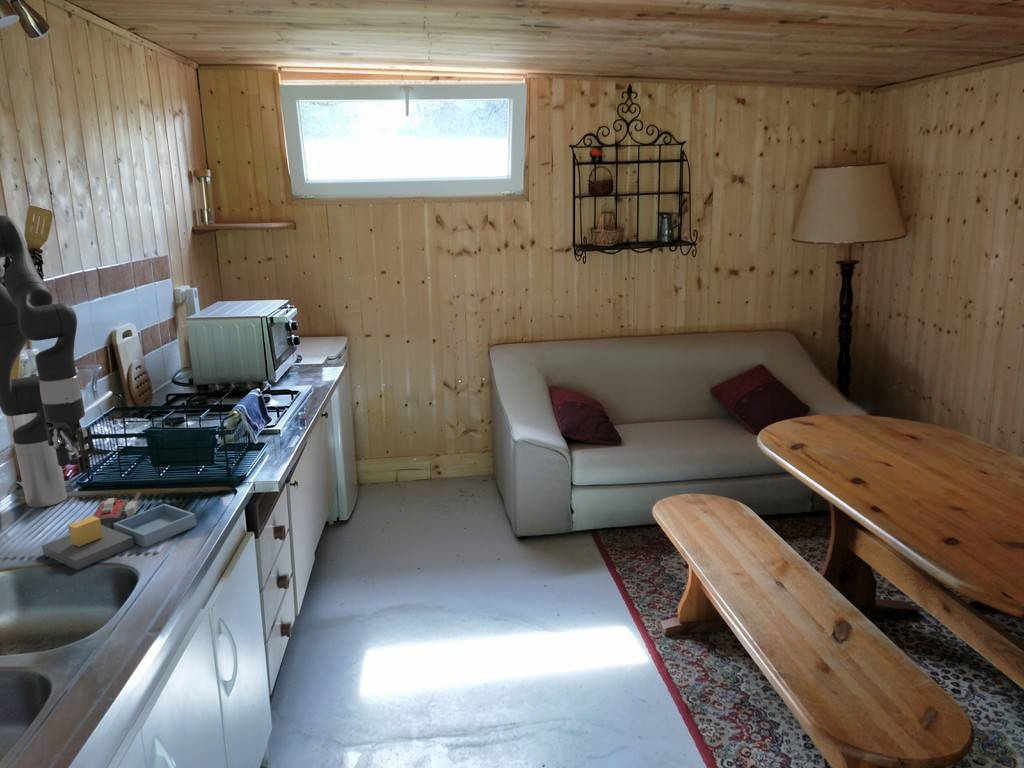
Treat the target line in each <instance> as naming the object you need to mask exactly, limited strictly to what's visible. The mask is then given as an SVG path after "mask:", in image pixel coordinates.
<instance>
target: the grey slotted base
mask: <svg viewBox="0 0 1024 768" xmlns="http://www.w3.org/2000/svg"><path fill="white" fill-rule="evenodd" d="M101 527H102V533H103V537H102V538H99V539H97V540H94V541H92V542H89V543H87V544H84V545H82V546H79V547H77V546H76V545H73V544H71V539H70V534H68V535H66V536H63V537H61V538H58V539H55V540H53V541H51V542H48V543H46V544H43V545H41V549H42V553H43V555H44V554H46V555H48V556H50V557H52V558H55V559H57V560H59V561H62V562H64V563H65V564H66V565H65V564H64V565H65V566H67V567H69V568H72V569H74V570H76V571H79V570H81V569H84V568H85V567H88V566H90V565H93V564H94V562H95V563H97V562H96V561H98V560H100V561H102V560H105V559H107V558H109V557H111V556H115V554H116V555H117V554H119V553H121V552H123V551H126V550H128V549H130V548H133V547H135V543H134V542H133V537H131V536H129V535H126V534H124V533H121V532H118V531H116V530H114V528H108V527H106V526H103V525H101ZM46 555H45V556H46ZM48 556H47V557H48ZM50 557H49V558H50ZM52 558H51V559H52ZM101 559H102V560H101ZM59 561H58V562H59ZM98 562H99V561H98ZM92 563H93V564H92Z"/></svg>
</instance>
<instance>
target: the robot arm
mask: <svg viewBox="0 0 1024 768" xmlns="http://www.w3.org/2000/svg"><path fill="white" fill-rule="evenodd" d="M24 239H25V238H24V237H23V235H22V232H21V231H20V228H19V227H18V225H17V223H16V221H15V220H13V218H12V217H10V216H9V215H1V214H0V258H7V257H10V256H12V258H11V261H10V263H9V265H8V267H7V269H6V271H5V275H4V279H3V280H4V281H3V282H4V283H3V284H2V283H1V282H0V410H1V413H2V414H3V415H5V417H17V416H22V415H29V414H36V416H35V417H34V418H32V419H30V421H28V422H27V423H25V424H22V425H21V426H18V427H17V428H15V429H14V430H13V432H12V438H13V439H12V440H13V445H14V449H15V454H16V458H17V462H18V463H17V464H18V467H19V472H20V479H21V482H22V488H23V493H24V494H23V495H24V497H25V502H26V506H27V507H29V508H45V507H50V506H54V505H57V504H59V503H62V502H64V501H65V500H66V499H67V498H68V495H67V489H66V483H65V478H64V477H65V476H64V473H63V467H65V466H68V465H70V463H71V461H70V460H71V459H70V456H69V451H68V450H69V449H70V450H73V451H74V453H75V455H76V461H77V466H78V472H79V473H80V474H81V475H82V474H86V473H90V472H91V471H92V467H91V466H92V465H91V461H90V455H92V454H94V453H96V452H95V451H96V450H95V447H94V442H93V437H92V432H91V428H90V426H84V427H82V424H81V422H80V421H81V419H82V418H84V417H85V415H86V412H85V406H84V399H83V395H82V389H81V384H80V381H79V378H78V375H77V374H78V373H77V368H76V362H75V352H74V351H75V343H76V341H75V340H76V334H77V329H78V328H77V327H78V318H77V314H76V312H75V310H74V309H73V308H72V307H71V305H70V304H67V303H53V295H52V293H51V291H50V289H49V288H48V286H47V285H46V284H45V282H44V281H43V279H42V278H41V276H40V274H39V272H38V270H37V269H36V266H35V263H34V261H33V259H32V256H31V254H30V251H29V248H28V246H27V244H26V242H25V240H24ZM52 303H53V304H52ZM51 339H57V340H56V342H55V344H54V345H53V346H51V347H49V348H46V349H44V350H42V351H39V352H38V353H36V355H35V364H36V368H37V369H36V371H37V375H35V376H34V375H33V376H25V377H18V378H11V374H12V370H13V367H14V364H15V362H16V360H17V358H18V356H20V354H21V351H23V348H24V347H25V345H26V343H27V342H28V340H30V341H33V342H37V341H38V342H39V341H44V340H46V341H47V340H51ZM67 447H68V448H69V449H68V448H67Z"/></svg>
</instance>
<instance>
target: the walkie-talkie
mask: <svg viewBox="0 0 1024 768" xmlns="http://www.w3.org/2000/svg"><path fill="white" fill-rule="evenodd" d="M141 494H142V493H141V492H140V491H138V492H136V494H135V495H134V498H133V499H132V501H128V499H127V500H126V499H120V500H119V499H118V497H112V498H111V497H110V498H109V497H108V498H106V499H105V501H103V502H101V503H100V504H98V507H97V509H96V510H95V512H94V514H93V515H92V516H94V517H97V518H100V522H101V525H103V526H106V527H108V528H111V529H114V525H113V524H114V523H116V522H119V521H121V520H124V519H126V518H129V517H132V516H134V515H136V511H137V510H138V509H139V504H138V501H139V499H140V496H141Z"/></svg>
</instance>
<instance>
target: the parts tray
mask: <svg viewBox="0 0 1024 768" xmlns="http://www.w3.org/2000/svg"><path fill="white" fill-rule="evenodd" d="M113 525H114V528H113V530H116V531H118V532H121V533H124V534H126V535H129V536H131V537H133V542H134V544H136V545H138V546H141V547H143V548H148V547H150V546H152V545H154V544H158V543H160V542H162V541H164V540H168V539H169V538H170V537H173V536H175V535H178V534H180V533H182V532H185V531H187V530H190V529H192V528H194V527H197V520H196V514H195V513H193V512H190V511H187V510H184V509H181V508H179V507H175V506H172V505H169V504H166V503H162V504H159V505H158V506H155V507H152V508H150V509H147V510H144V511H142V512H140V513H137V514H134V515H132V516H130V517H128V518H124V520H121V521H119V522H116V523H114V524H113Z"/></svg>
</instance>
